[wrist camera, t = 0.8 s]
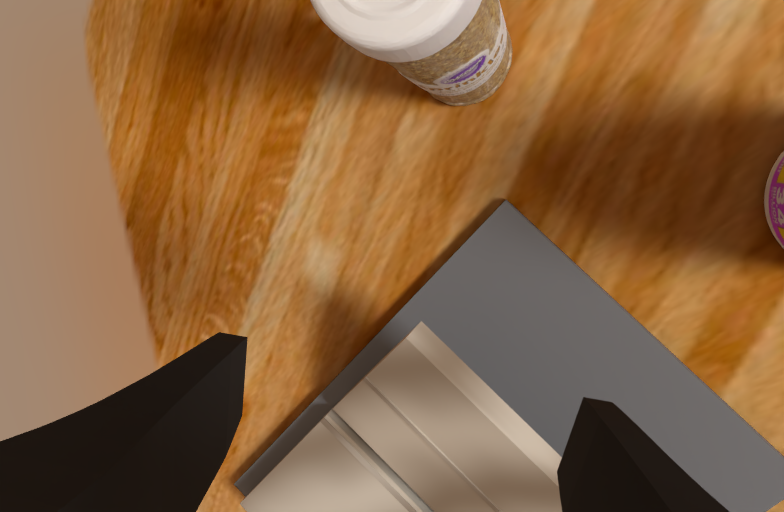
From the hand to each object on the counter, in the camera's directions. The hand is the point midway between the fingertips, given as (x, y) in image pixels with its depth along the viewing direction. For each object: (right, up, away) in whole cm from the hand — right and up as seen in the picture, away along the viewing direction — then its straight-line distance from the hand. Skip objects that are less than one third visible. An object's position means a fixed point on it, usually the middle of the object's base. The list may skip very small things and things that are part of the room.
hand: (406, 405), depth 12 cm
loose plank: (+5, -7, +14) cm, 16 cm away
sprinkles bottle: (+3, +13, +14) cm, 19 cm away
